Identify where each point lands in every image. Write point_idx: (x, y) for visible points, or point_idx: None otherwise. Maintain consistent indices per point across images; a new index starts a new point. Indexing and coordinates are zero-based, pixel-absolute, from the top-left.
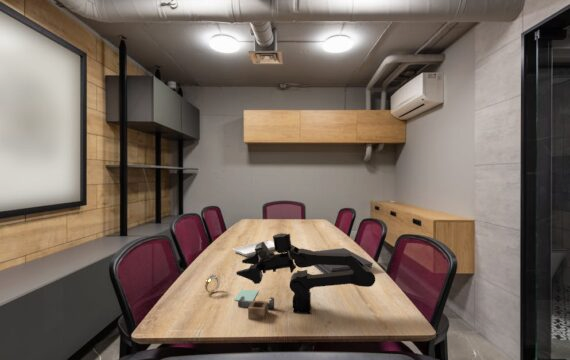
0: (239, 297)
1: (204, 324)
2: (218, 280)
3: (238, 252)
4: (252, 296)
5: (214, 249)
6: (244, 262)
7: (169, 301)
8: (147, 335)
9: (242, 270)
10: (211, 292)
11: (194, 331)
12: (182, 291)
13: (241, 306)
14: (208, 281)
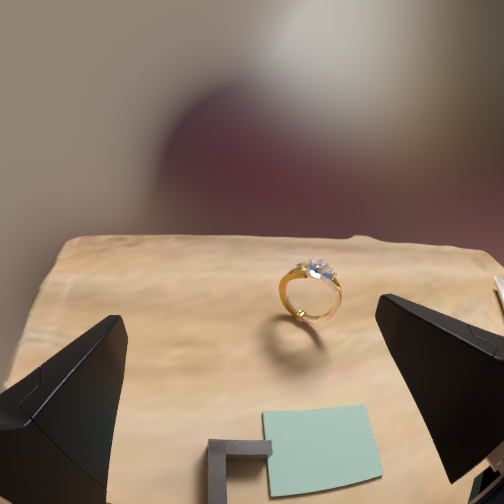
0: (291, 426)
1: None
2: (333, 302)
3: (498, 292)
4: (320, 477)
5: (469, 255)
6: (385, 329)
7: (216, 245)
8: (67, 250)
9: (64, 356)
10: (294, 315)
11: (47, 326)
12: (276, 254)
13: (207, 460)
14: (291, 273)
